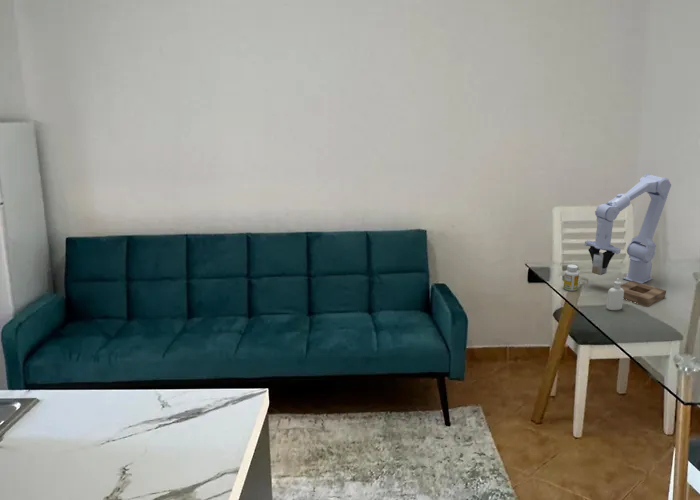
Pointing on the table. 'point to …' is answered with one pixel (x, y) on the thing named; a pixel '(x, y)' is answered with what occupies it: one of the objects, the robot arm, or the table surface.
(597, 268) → the peg
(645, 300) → the socket block
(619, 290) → the eye dropper bottle
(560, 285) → the table surface
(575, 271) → the supplement bottle
